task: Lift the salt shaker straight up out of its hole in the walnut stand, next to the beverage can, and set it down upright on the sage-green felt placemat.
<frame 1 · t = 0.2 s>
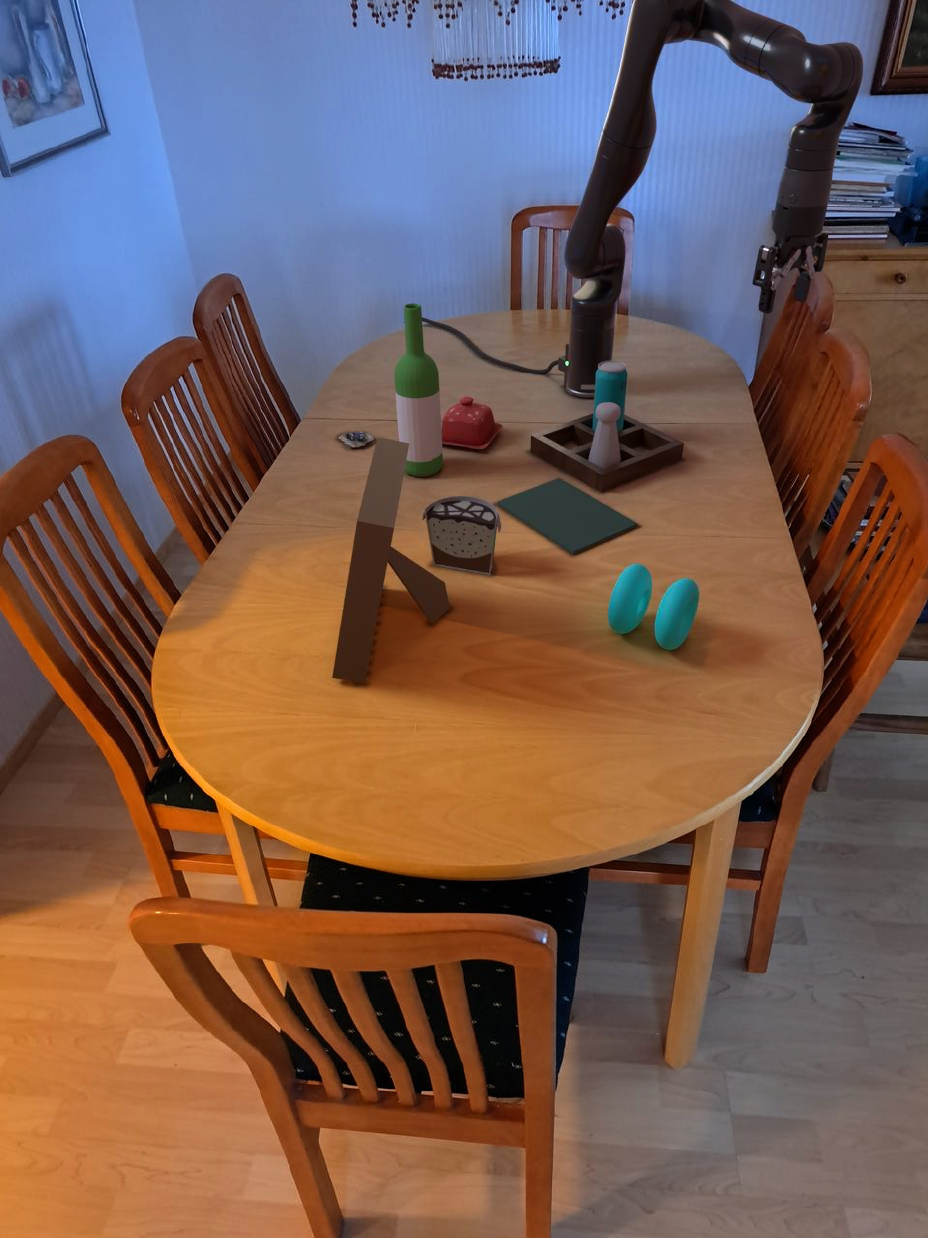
hand: (782, 306, 146), 29 cm above the table, tool pointing down, fingers open, 8 cm apart
butter dish: (467, 439, 176), on the table
photo frame: (396, 633, 127), on the table
food container: (468, 560, 142), on the table
wine bottle: (422, 469, 167), on the table
donuts: (649, 636, 126), on the table
salt shaker: (603, 473, 164), resting in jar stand
beverage can: (606, 441, 174), resting in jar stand
blueberries: (355, 441, 177), on the table
placemat: (565, 515, 152), on the table
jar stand: (605, 455, 169), on the table
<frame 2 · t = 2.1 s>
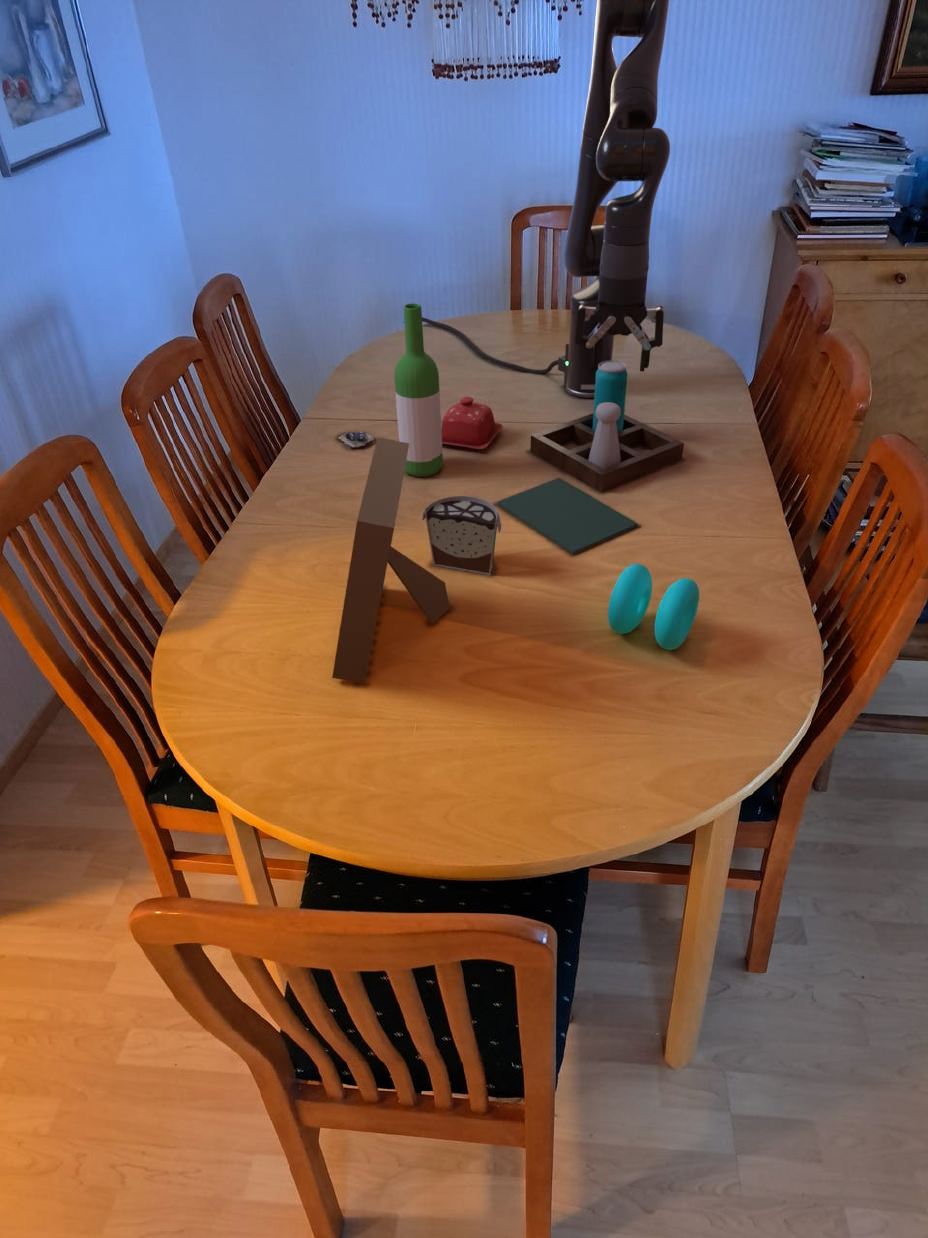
hand: (616, 368, 152), 19 cm above the table, tool pointing down, fingers open, 8 cm apart
nothing on the table moved.
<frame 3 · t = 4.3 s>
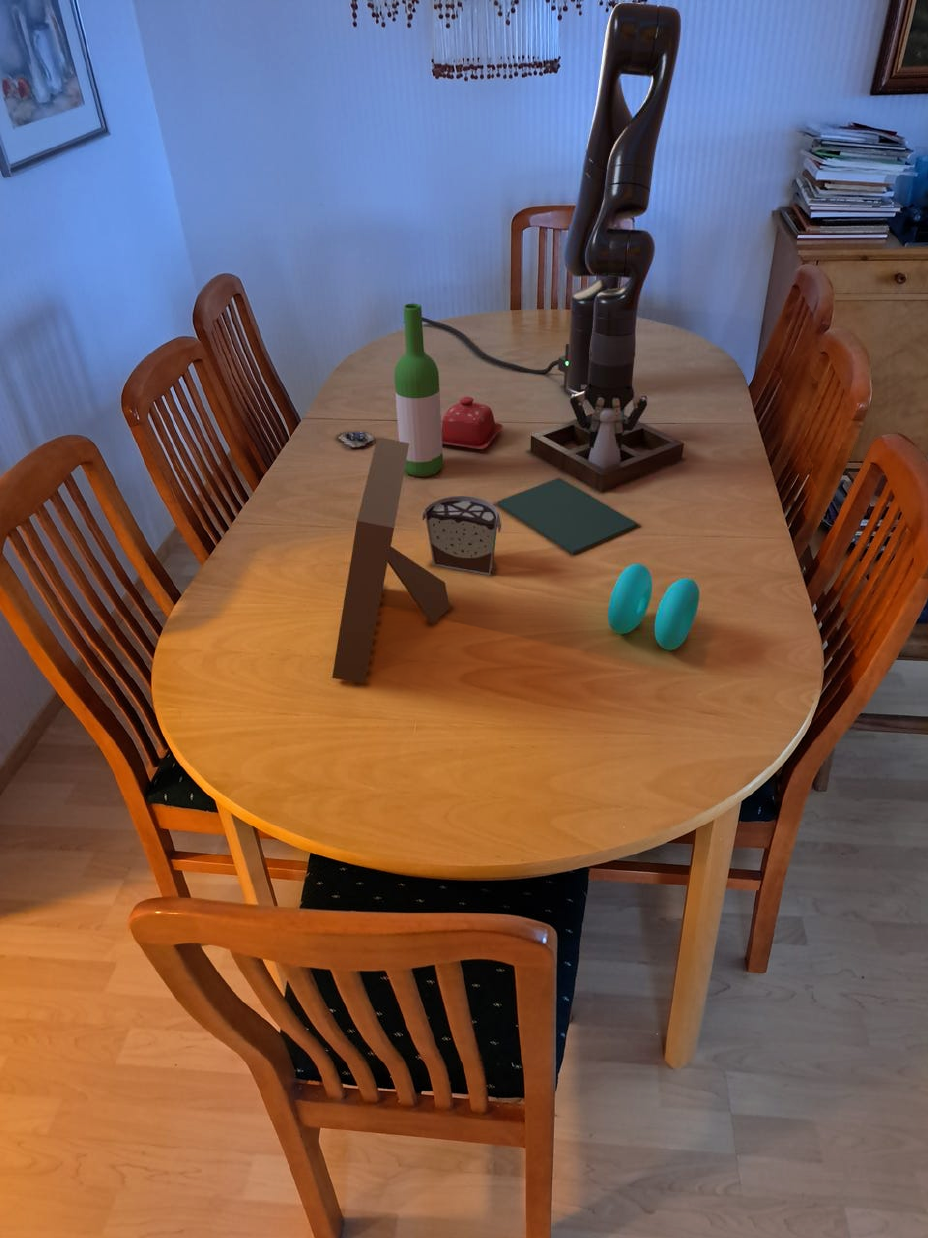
hand: (604, 448, 161), 5 cm above the table, tool pointing down, fingers closed on salt shaker, 3 cm apart
salt shaker: (603, 473, 164), resting in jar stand, touching gripper
everything else where it was.
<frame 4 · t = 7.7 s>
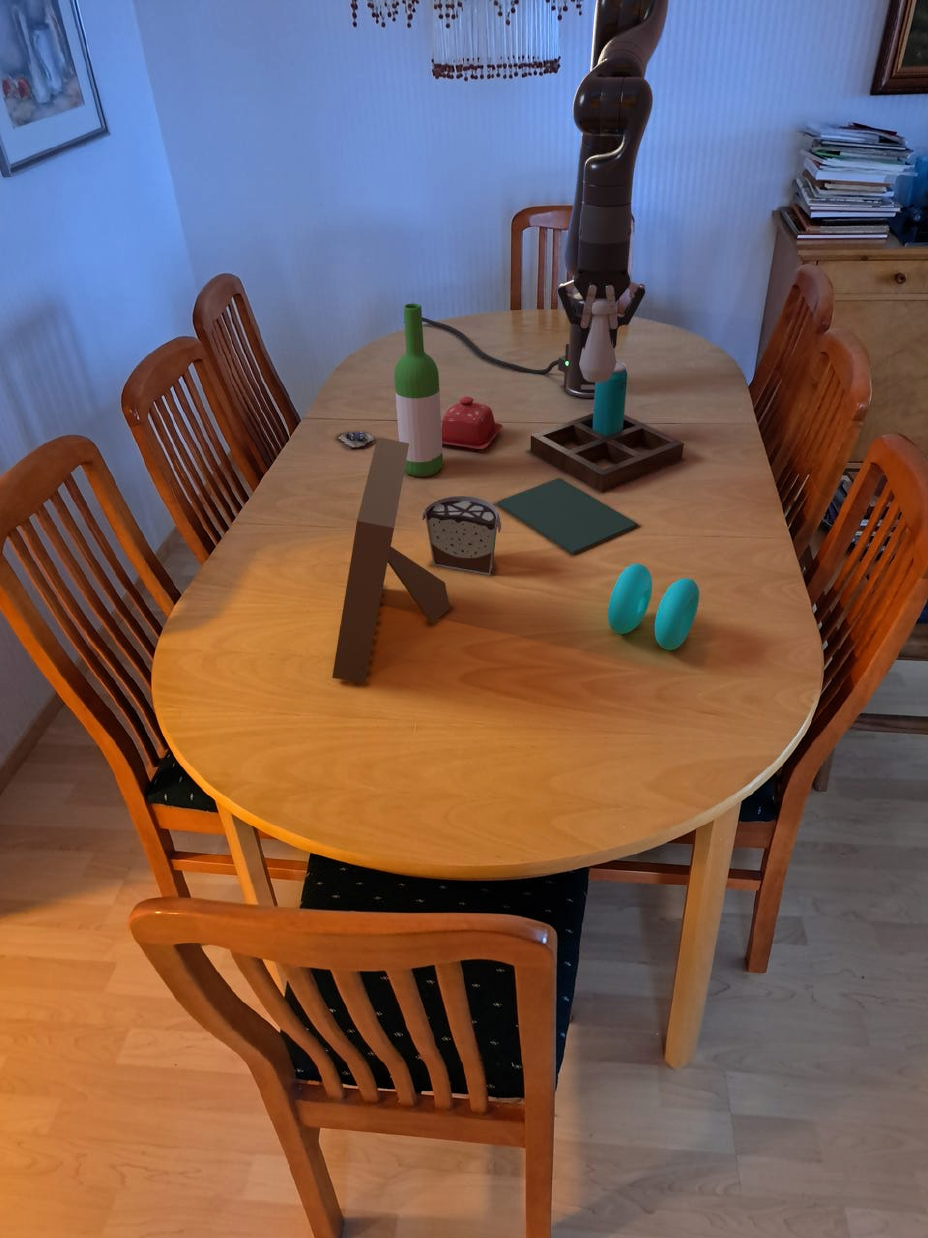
hand: (597, 349, 142), 26 cm above the table, tool pointing down, fingers closed on salt shaker, 3 cm apart
salt shaker: (596, 379, 145), point 21 cm above the table, touching gripper
everything else where it was.
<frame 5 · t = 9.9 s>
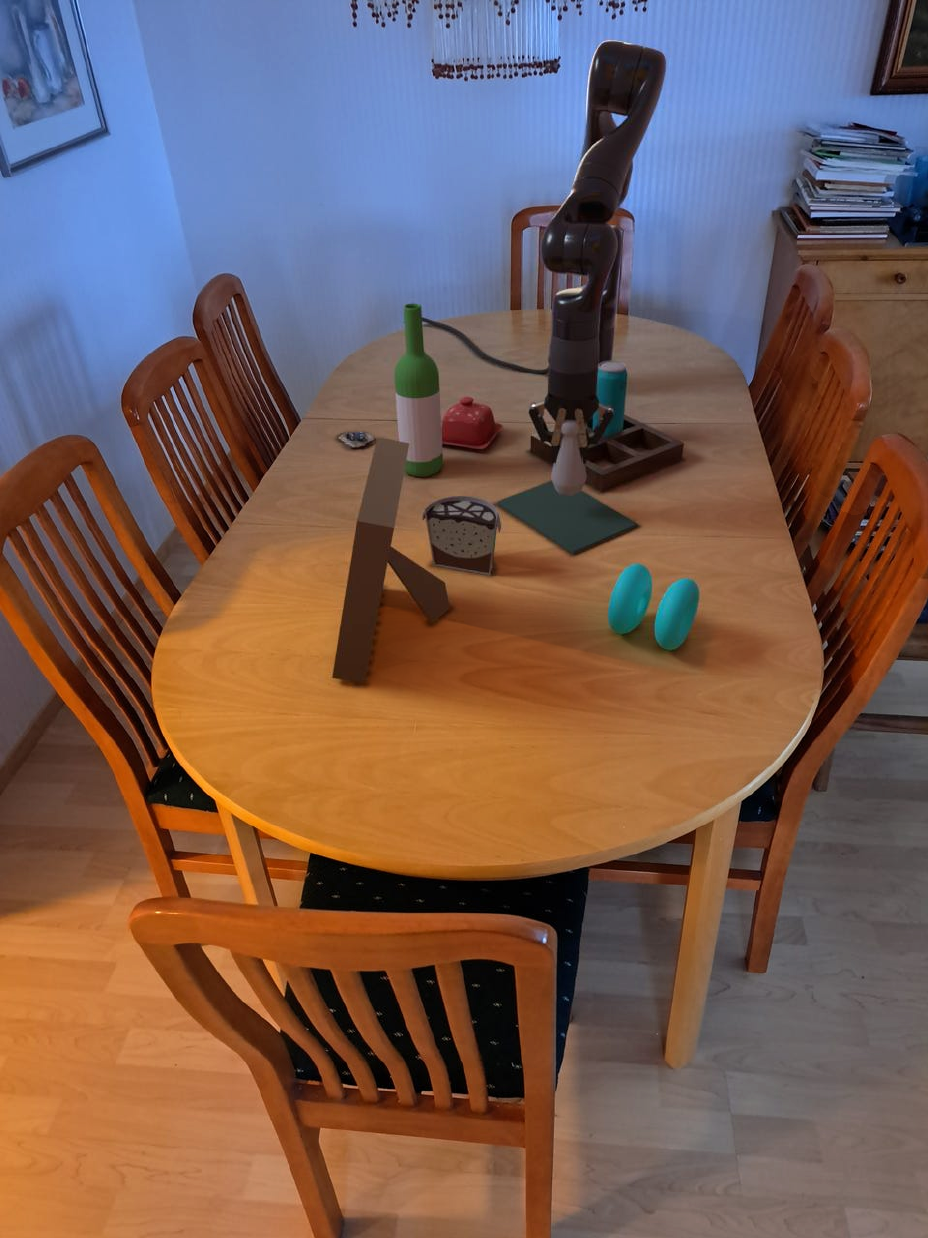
hand: (568, 464, 146), 10 cm above the table, tool pointing down, fingers closed on salt shaker, 3 cm apart
salt shaker: (568, 490, 149), point 5 cm above the table, touching gripper
everything else where it was.
when the fingers open (5 cm above the table, at t = 11.4 s): salt shaker stays where it is, resting on placemat.
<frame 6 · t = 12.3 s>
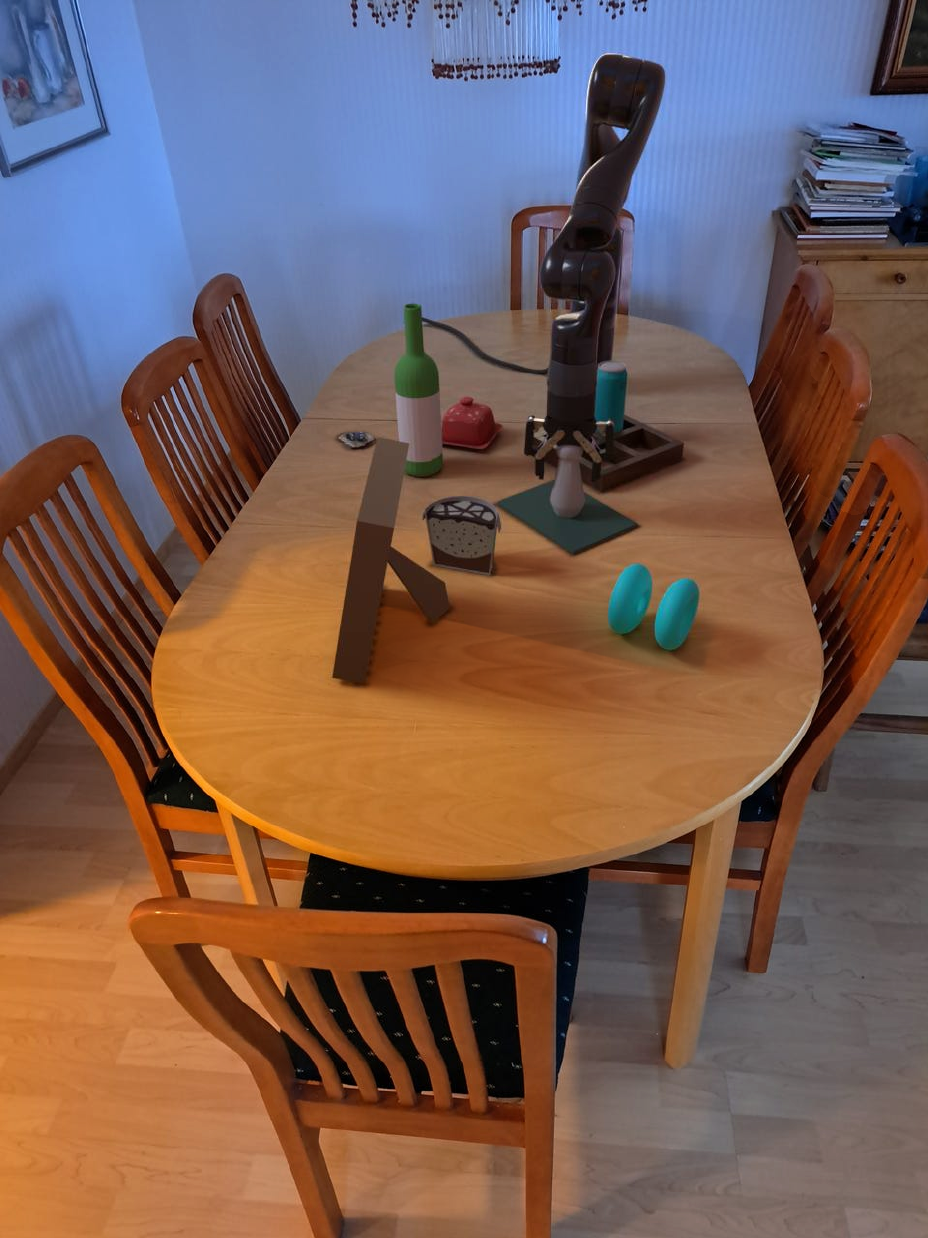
hand: (567, 478, 148), 7 cm above the table, tool pointing down, fingers open, 8 cm apart
salt shaker: (566, 513, 152), resting on placemat
everything else where it was.
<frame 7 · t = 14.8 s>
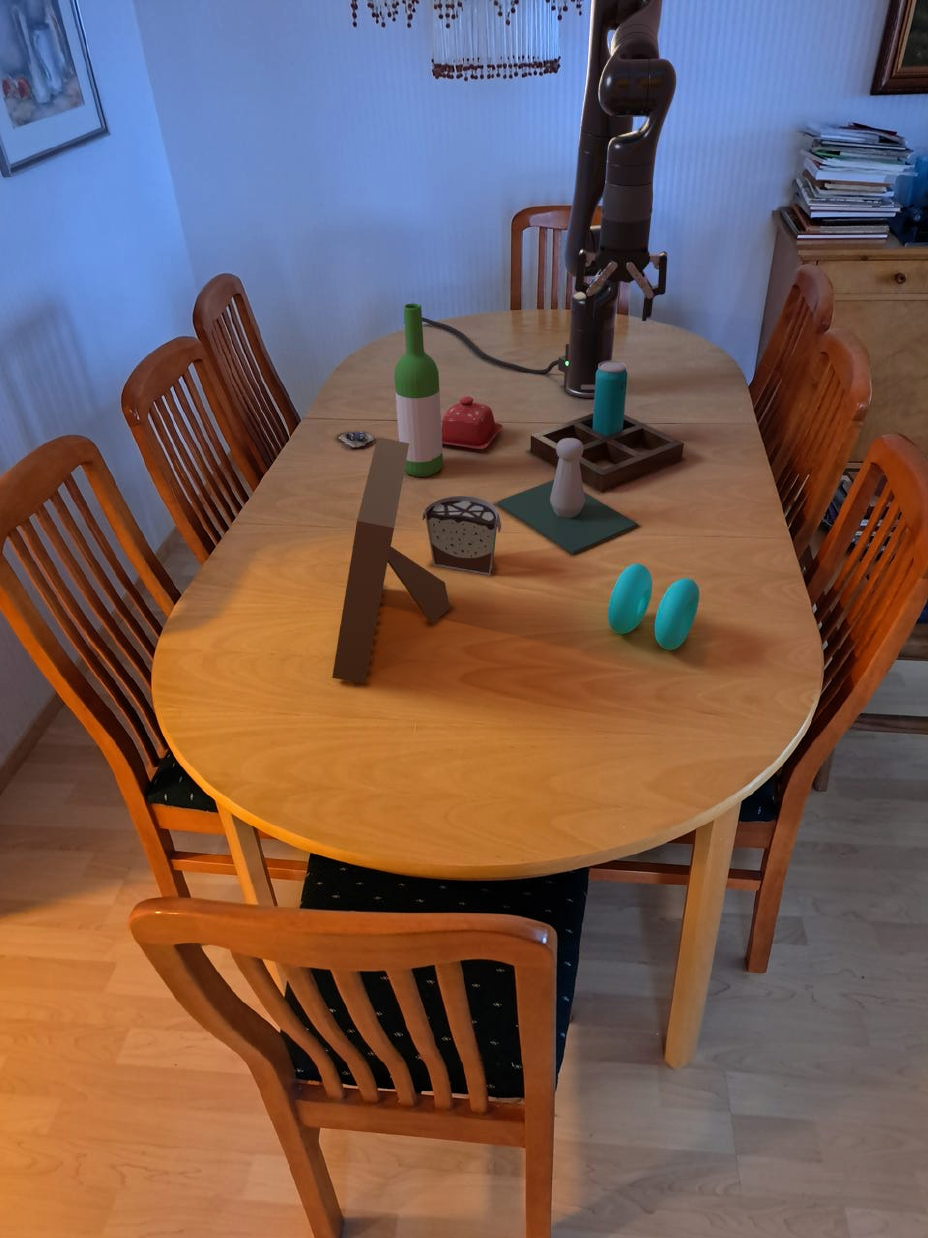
hand: (617, 318, 146), 28 cm above the table, tool pointing down, fingers open, 8 cm apart
nothing on the table moved.
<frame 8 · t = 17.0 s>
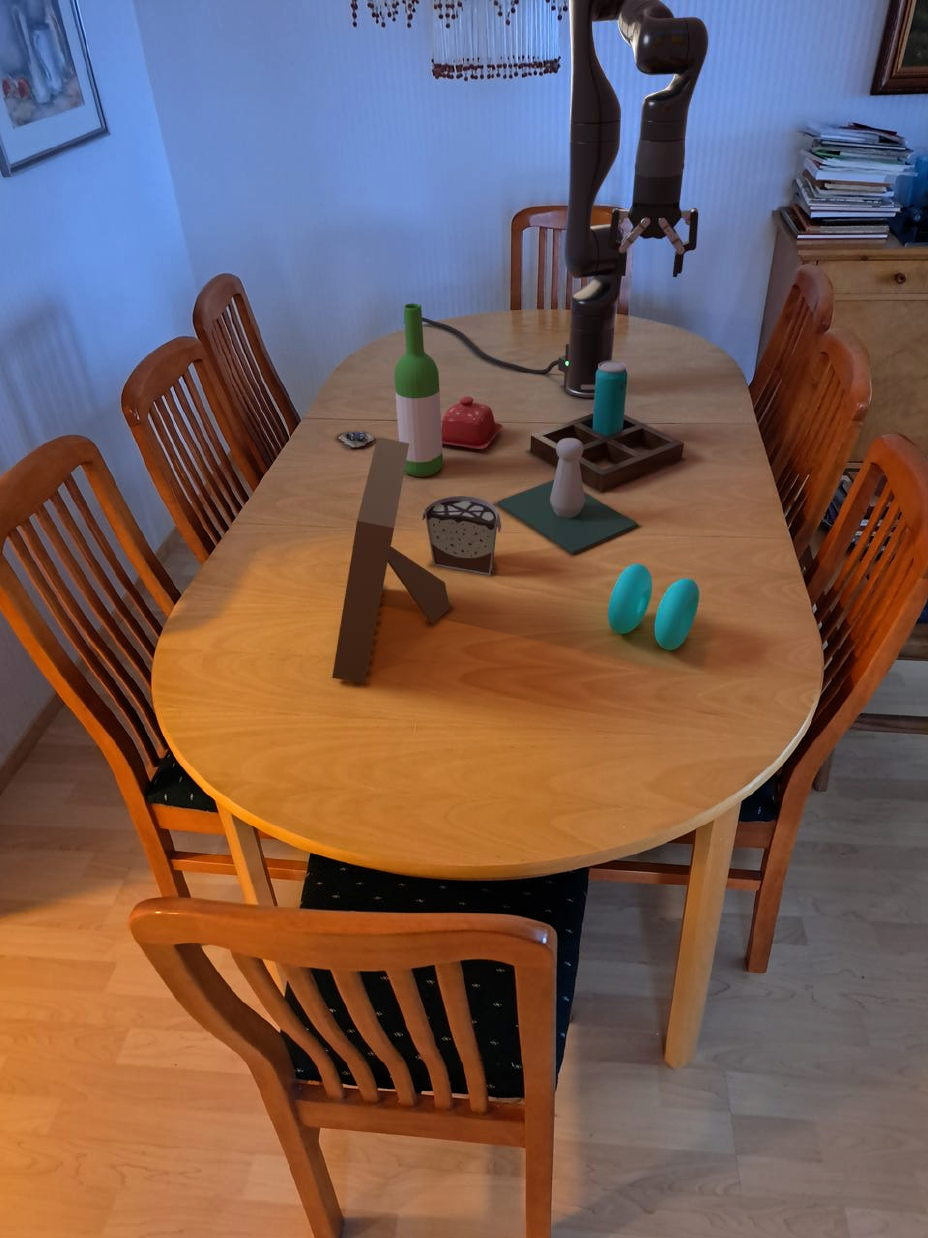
hand: (648, 275, 151), 32 cm above the table, tool pointing down, fingers open, 8 cm apart
nothing on the table moved.
at the end: salt shaker inside the target area on the placemat (0.2 cm from its centre), point 0.4 cm above the placemat's base; salt shaker tilted 0°; beverage can moved 0.2 cm from its start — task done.
